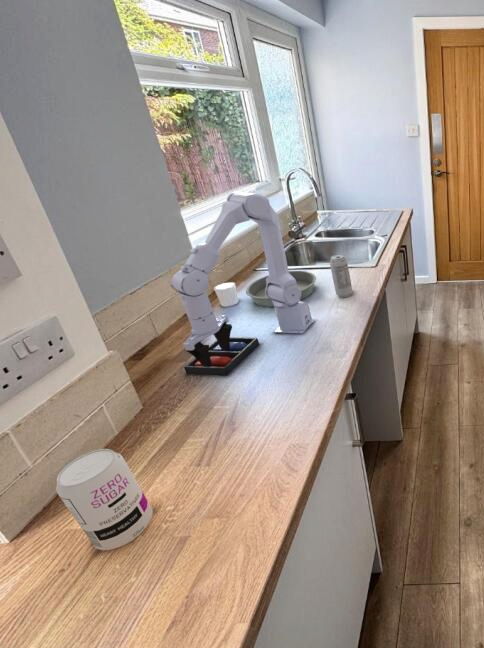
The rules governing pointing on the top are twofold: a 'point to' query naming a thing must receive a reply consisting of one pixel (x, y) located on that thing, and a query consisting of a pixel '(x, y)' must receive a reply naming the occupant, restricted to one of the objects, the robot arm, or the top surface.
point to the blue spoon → (232, 346)
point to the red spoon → (217, 361)
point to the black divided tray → (233, 355)
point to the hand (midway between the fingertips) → (217, 357)
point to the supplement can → (104, 498)
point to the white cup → (227, 294)
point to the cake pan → (259, 296)
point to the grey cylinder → (341, 275)
